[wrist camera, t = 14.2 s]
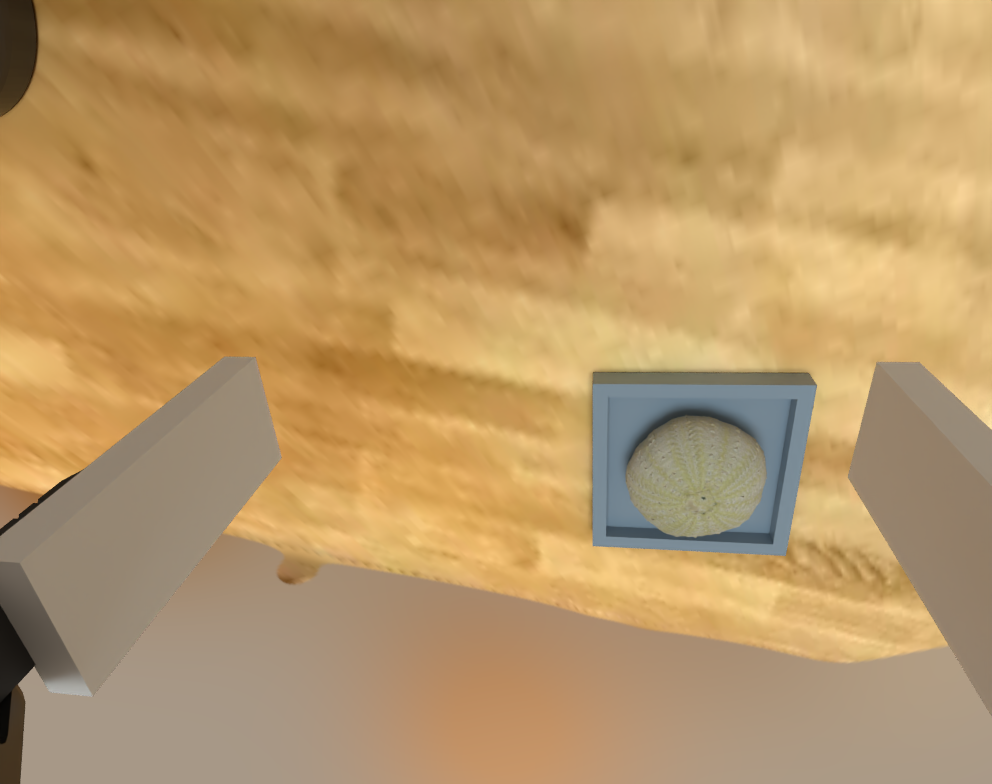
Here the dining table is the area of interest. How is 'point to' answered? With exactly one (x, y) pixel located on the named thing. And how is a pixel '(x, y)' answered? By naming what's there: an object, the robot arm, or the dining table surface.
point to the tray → (724, 396)
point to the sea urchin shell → (696, 476)
